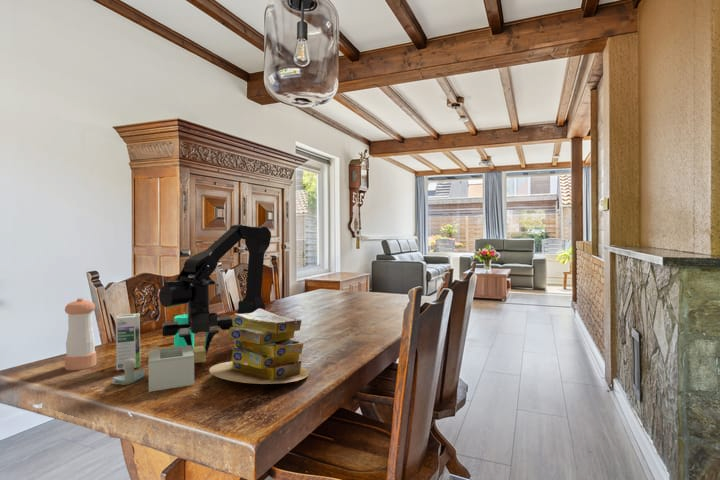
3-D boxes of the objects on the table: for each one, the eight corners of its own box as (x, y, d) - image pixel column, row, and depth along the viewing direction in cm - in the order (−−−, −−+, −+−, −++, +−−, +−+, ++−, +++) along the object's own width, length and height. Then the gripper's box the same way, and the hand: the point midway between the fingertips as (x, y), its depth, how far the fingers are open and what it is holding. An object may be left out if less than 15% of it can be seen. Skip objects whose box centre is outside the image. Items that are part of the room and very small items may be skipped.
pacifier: (106, 384, 99) (117, 389, 96) (105, 359, 99) (117, 363, 96) (136, 376, 105) (148, 380, 102) (135, 352, 105) (147, 355, 102)
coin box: (191, 371, 108) (191, 345, 107) (194, 384, 99) (194, 355, 99) (149, 377, 103) (149, 350, 103) (148, 391, 94) (148, 361, 94)
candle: (186, 351, 126) (186, 313, 126) (170, 350, 127) (169, 312, 127) (198, 346, 132) (197, 310, 132) (181, 345, 133) (181, 309, 133)
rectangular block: (203, 355, 118) (203, 345, 118) (206, 361, 113) (206, 350, 113) (191, 357, 117) (191, 346, 117) (194, 363, 111) (193, 352, 111)
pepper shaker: (68, 363, 114) (68, 297, 114) (98, 360, 117) (98, 295, 117) (61, 372, 107) (60, 301, 107) (93, 368, 110) (92, 299, 110)
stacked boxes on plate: (270, 356, 121) (269, 302, 121) (327, 375, 105) (327, 312, 105) (191, 379, 102) (190, 315, 102) (247, 407, 86) (246, 330, 86)
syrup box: (115, 371, 108) (115, 317, 108) (117, 364, 114) (117, 313, 113) (139, 367, 111) (139, 315, 111) (140, 361, 116) (139, 312, 116)
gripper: (162, 309, 103) (163, 369, 103) (236, 303, 112) (237, 358, 112) (162, 302, 113) (162, 356, 113) (230, 297, 121) (230, 348, 122)
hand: (198, 355), depth 115 cm, fingers closed on rectangular block, 3 cm apart
